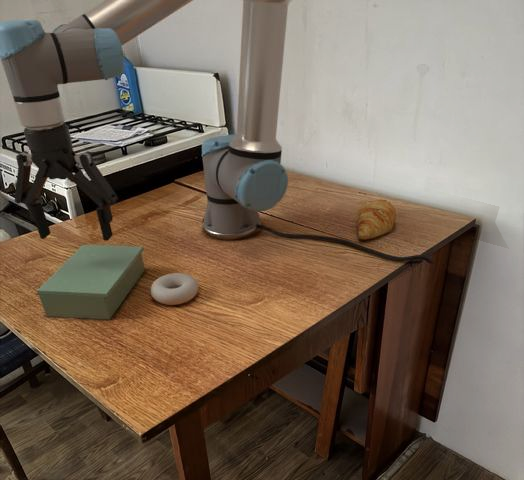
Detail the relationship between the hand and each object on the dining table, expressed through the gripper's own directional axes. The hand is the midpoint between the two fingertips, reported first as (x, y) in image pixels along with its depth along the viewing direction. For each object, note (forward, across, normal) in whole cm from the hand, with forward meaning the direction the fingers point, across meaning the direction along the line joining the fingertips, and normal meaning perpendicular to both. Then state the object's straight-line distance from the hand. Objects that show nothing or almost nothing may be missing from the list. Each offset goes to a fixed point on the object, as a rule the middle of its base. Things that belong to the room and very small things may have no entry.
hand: (76, 237), depth 101 cm
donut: (+13, -19, 0) cm, 23 cm away
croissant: (+13, -61, -38) cm, 73 cm away
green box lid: (+7, -2, 0) cm, 8 cm away
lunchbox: (+13, -2, 0) cm, 13 cm away
